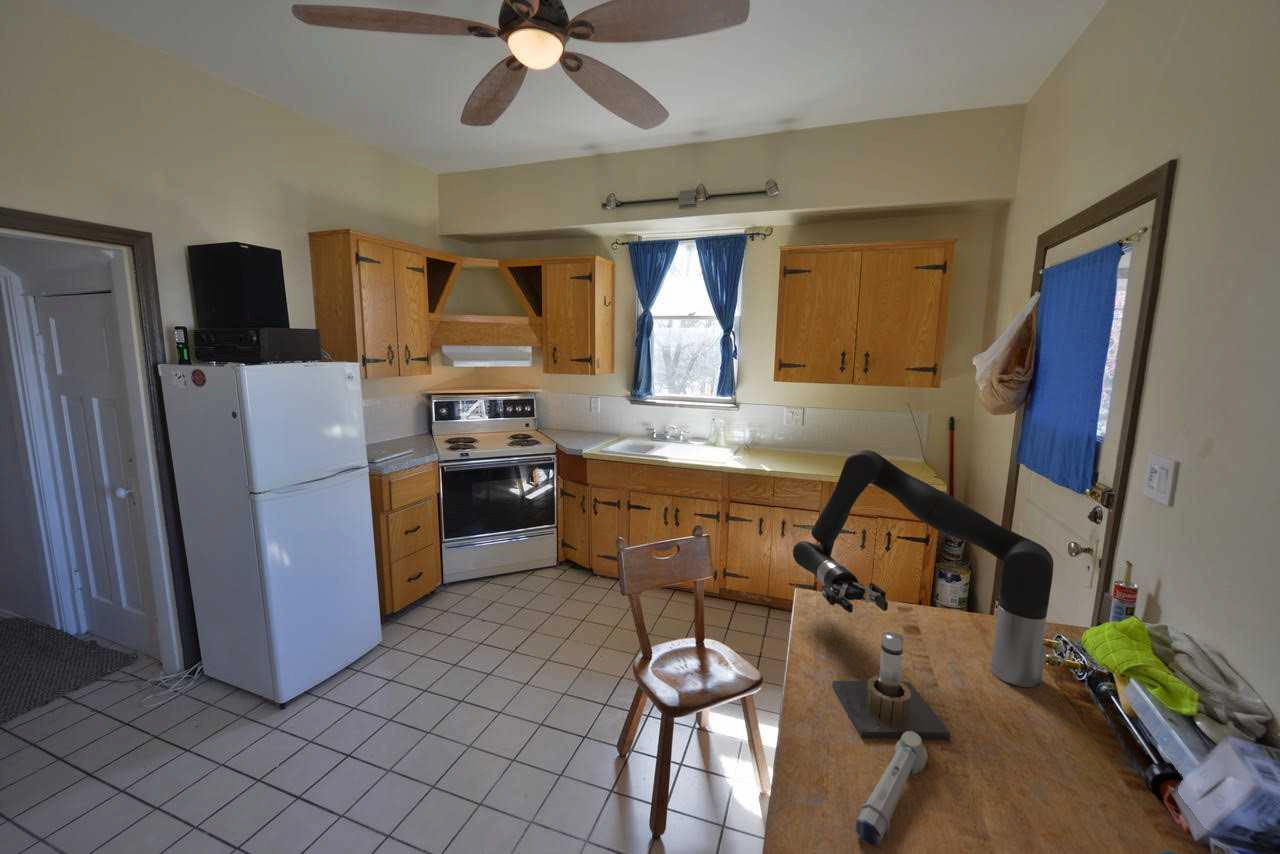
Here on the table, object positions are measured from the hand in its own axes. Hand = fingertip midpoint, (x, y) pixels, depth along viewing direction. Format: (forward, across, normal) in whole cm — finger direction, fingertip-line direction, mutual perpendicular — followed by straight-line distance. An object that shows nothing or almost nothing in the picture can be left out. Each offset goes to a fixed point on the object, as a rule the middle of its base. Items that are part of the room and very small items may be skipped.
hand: (868, 608), depth 121 cm
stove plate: (+12, -1, +18) cm, 21 cm away
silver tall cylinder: (+12, -1, +16) cm, 20 cm away
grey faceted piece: (+32, -12, +18) cm, 39 cm away
